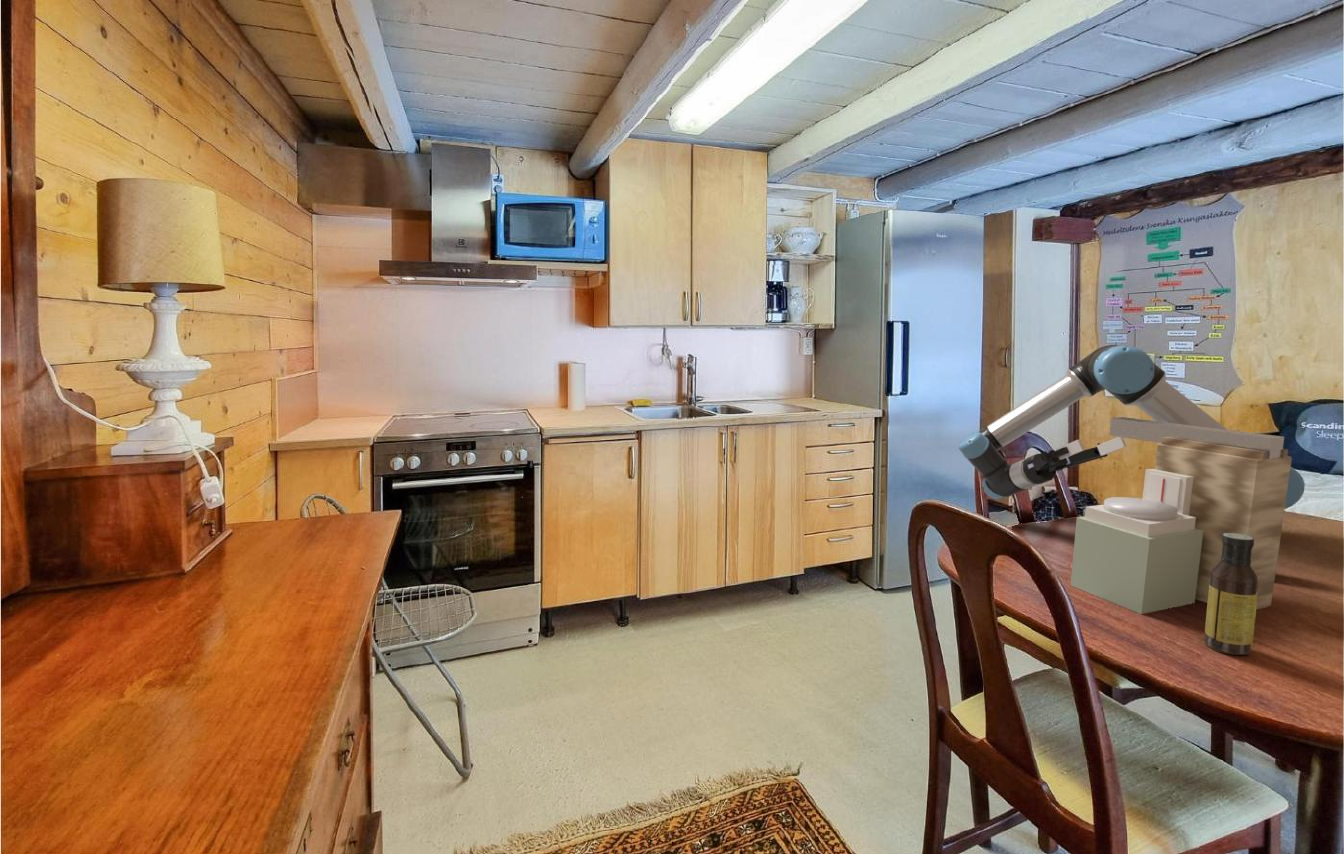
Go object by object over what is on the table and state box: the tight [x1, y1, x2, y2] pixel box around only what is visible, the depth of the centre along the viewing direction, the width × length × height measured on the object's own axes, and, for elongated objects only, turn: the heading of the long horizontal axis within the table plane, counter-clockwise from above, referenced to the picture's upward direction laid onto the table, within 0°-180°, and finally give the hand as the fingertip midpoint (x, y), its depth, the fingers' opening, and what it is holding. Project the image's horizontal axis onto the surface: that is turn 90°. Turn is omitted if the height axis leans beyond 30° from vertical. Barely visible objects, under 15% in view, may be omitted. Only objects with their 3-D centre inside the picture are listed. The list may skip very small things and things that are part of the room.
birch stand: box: [1154, 437, 1293, 611], centre depth 131 cm, size 18×10×32 cm, turn 19°
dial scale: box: [1084, 468, 1196, 537], centre depth 130 cm, size 13×15×10 cm
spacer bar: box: [1109, 416, 1285, 459], centre depth 134 cm, size 30×4×4 cm, turn 22°
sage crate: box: [1070, 516, 1203, 615], centre depth 132 cm, size 15×15×15 cm
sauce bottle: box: [1204, 533, 1258, 656], centre depth 109 cm, size 6×6×20 cm
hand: (1102, 442), depth 152 cm, fingers open, 13 cm apart
